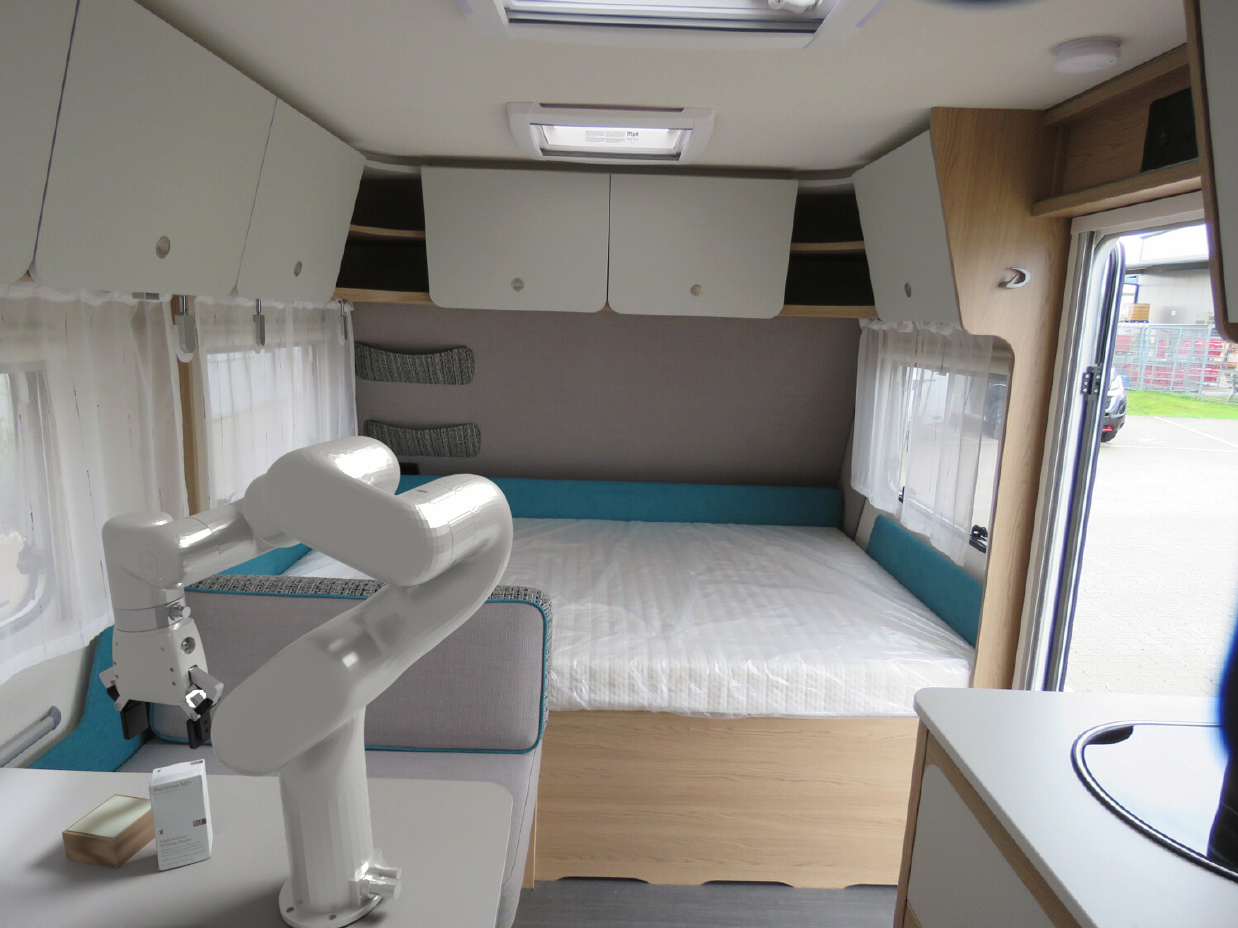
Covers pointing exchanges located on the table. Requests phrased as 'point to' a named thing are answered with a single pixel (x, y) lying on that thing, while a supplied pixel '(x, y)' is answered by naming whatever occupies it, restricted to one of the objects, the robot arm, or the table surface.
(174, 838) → the skincare box
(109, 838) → the brown square block
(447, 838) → the table surface
